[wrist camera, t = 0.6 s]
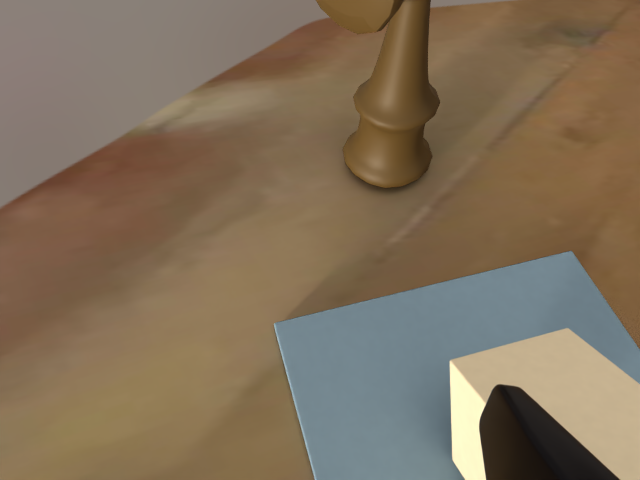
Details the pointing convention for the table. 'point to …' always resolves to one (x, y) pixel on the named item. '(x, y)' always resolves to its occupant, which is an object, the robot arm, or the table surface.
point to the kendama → (390, 91)
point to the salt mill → (550, 398)
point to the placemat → (426, 362)
